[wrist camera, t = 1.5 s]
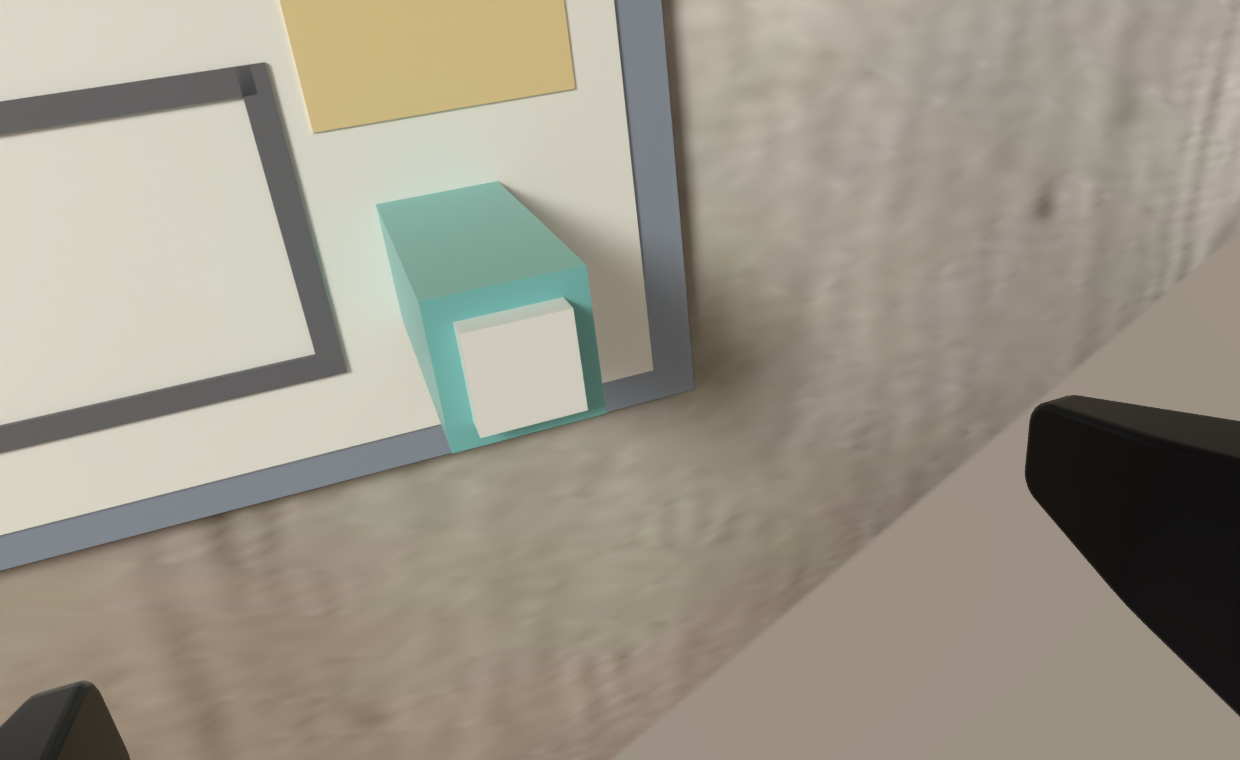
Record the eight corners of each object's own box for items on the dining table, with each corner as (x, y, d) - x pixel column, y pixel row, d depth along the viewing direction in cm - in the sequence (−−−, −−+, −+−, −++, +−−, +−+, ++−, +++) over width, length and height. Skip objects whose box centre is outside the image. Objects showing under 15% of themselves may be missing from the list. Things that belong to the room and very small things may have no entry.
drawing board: (634, -202, 17) (647, -209, 16) (686, 380, 22) (697, 392, 22) (-607, -92, 13) (-651, -95, 12) (-177, 603, 18) (-193, 626, 17)
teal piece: (497, 181, 18) (596, 274, 13) (516, 294, 19) (617, 427, 14) (375, 204, 18) (423, 313, 12) (402, 319, 19) (457, 469, 13)
